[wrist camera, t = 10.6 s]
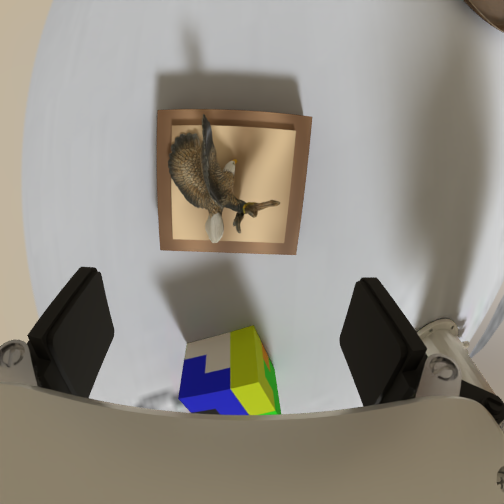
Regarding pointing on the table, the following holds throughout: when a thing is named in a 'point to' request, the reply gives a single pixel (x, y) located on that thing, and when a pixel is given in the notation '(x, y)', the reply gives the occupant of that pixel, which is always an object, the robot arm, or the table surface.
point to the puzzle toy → (229, 376)
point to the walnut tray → (238, 180)
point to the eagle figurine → (208, 181)
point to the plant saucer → (489, 11)
